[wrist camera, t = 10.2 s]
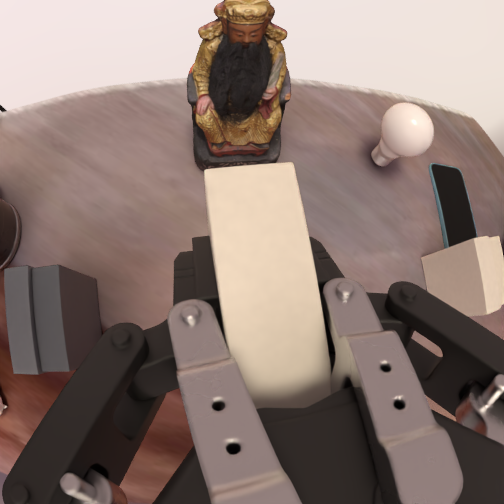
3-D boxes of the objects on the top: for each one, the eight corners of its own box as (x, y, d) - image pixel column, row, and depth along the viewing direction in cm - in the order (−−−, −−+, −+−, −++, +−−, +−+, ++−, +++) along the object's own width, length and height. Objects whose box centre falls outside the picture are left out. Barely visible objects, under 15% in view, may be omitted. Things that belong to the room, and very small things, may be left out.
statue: (188, 173, 34) (170, 32, 14) (195, 117, 36) (191, -21, 16) (293, 180, 35) (365, 56, 16) (291, 125, 37) (344, -2, 17)
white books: (431, 319, 34) (487, 314, 24) (420, 257, 35) (473, 238, 26) (459, 308, 35) (513, 302, 25) (449, 251, 36) (500, 233, 26)
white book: (228, 378, 17) (243, 444, 7) (209, 249, 18) (203, 168, 8) (273, 370, 17) (338, 422, 7) (253, 244, 18) (293, 161, 9)
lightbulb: (377, 133, 38) (416, 86, 28) (405, 169, 38) (452, 130, 27) (347, 149, 37) (386, 99, 26) (377, 189, 36) (426, 148, 26)
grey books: (60, 362, 28) (13, 373, 18) (51, 282, 29) (4, 268, 20) (106, 361, 29) (67, 374, 19) (96, 277, 30) (55, 260, 21)
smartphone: (460, 168, 39) (482, 262, 36) (456, 171, 40) (477, 263, 37) (428, 161, 38) (450, 263, 35) (424, 165, 39) (445, 265, 36)
